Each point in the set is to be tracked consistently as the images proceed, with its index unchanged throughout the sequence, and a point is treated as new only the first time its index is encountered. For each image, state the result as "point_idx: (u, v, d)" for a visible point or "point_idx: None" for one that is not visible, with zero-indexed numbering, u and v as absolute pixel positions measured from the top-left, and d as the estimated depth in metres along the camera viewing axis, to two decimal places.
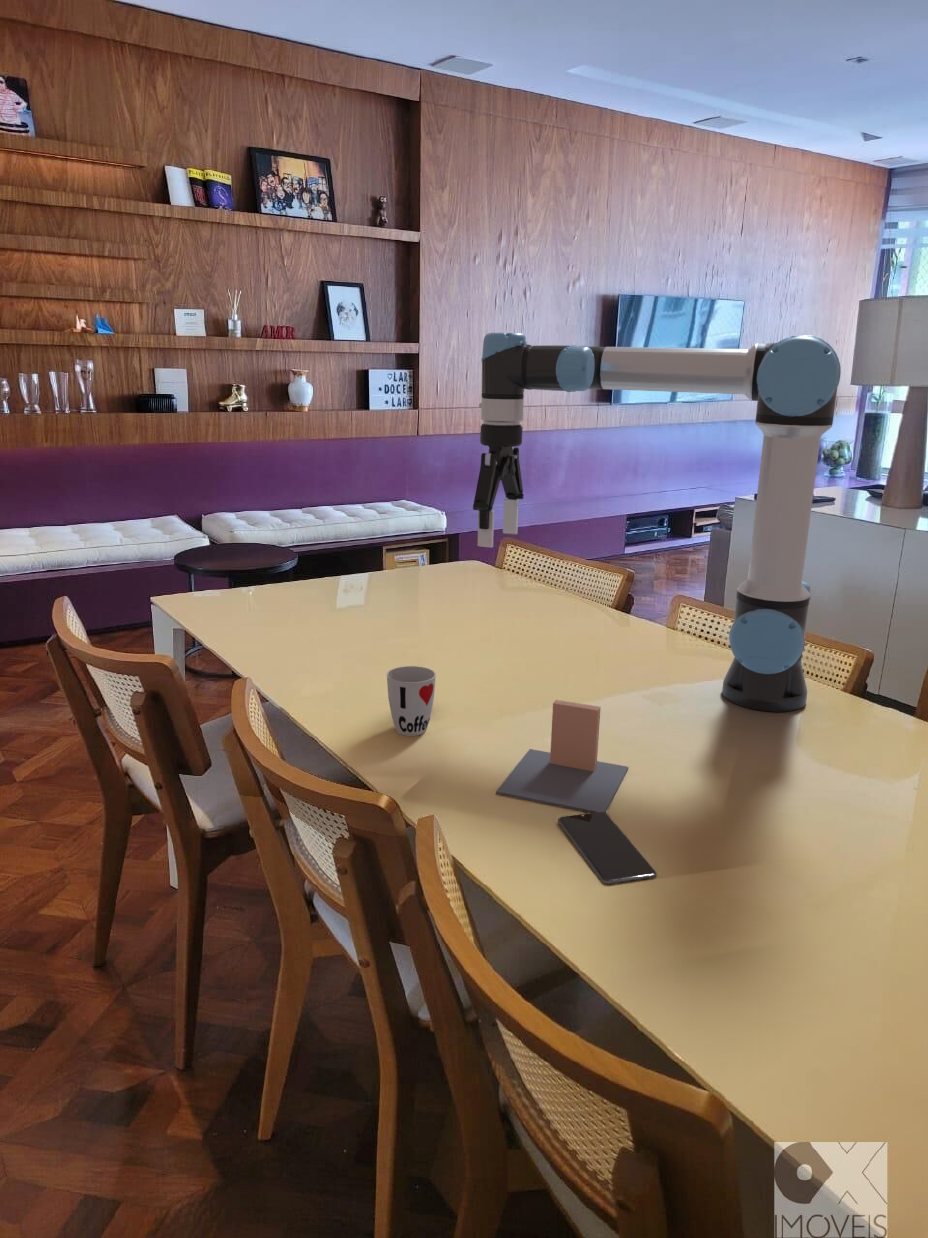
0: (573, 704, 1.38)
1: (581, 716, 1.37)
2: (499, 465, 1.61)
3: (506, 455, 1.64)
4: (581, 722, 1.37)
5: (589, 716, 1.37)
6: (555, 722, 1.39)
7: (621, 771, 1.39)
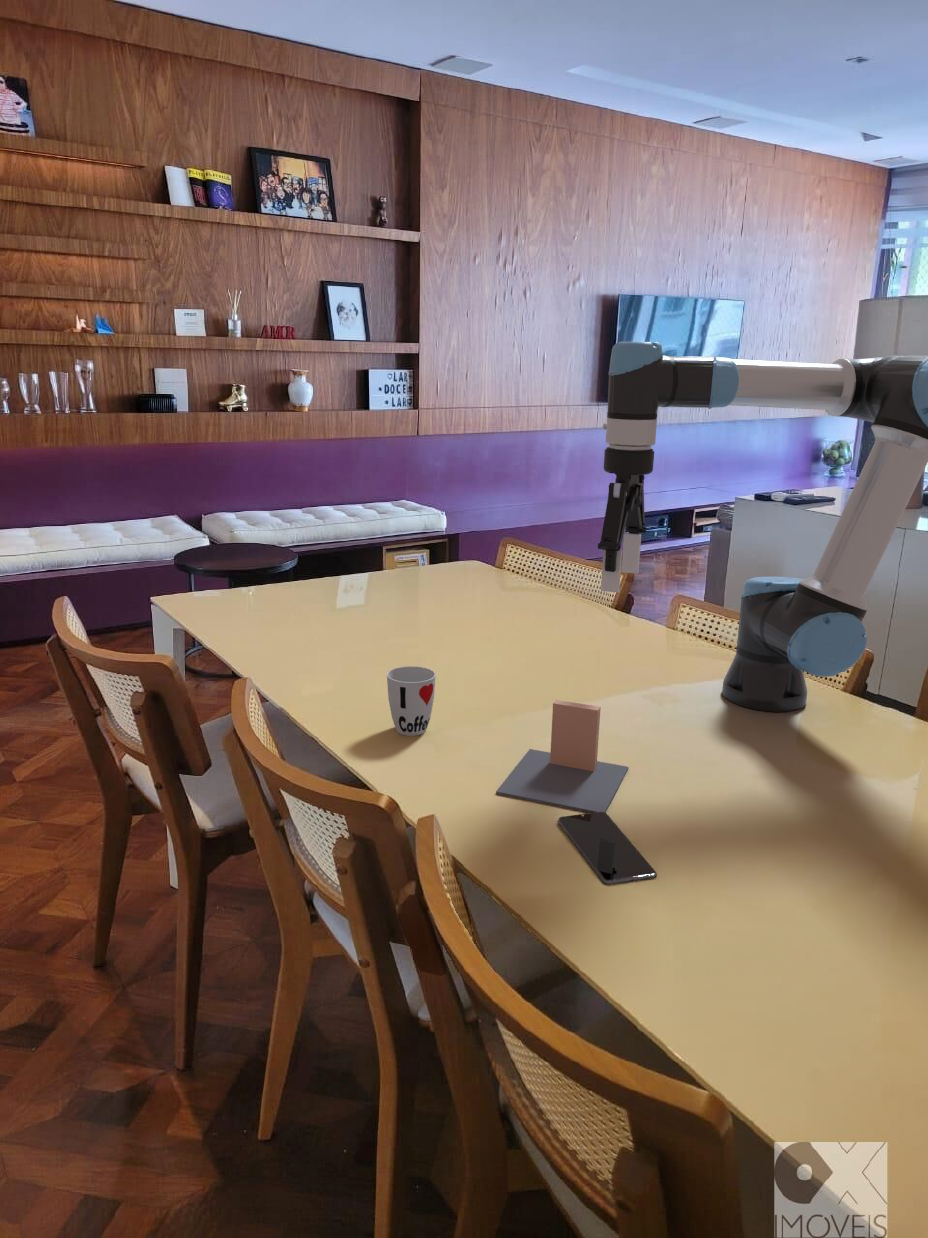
0: (573, 704, 1.38)
1: (581, 716, 1.37)
2: (628, 496, 1.38)
3: (634, 484, 1.40)
4: (581, 722, 1.37)
5: (589, 716, 1.37)
6: (555, 722, 1.39)
7: (621, 771, 1.39)
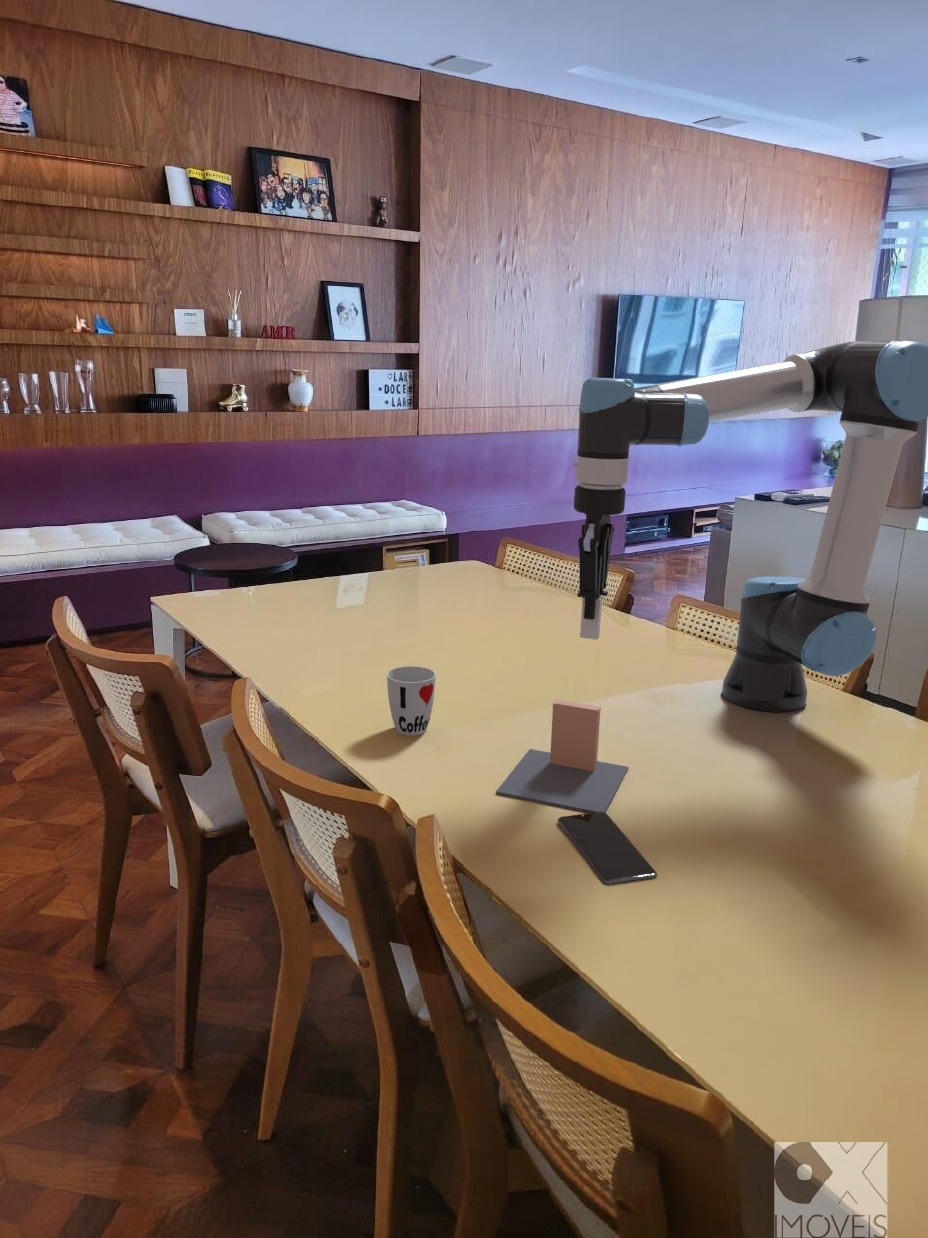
0: (573, 704, 1.38)
1: (581, 716, 1.37)
2: (598, 536, 1.34)
3: (605, 524, 1.36)
4: (581, 722, 1.37)
5: (589, 716, 1.37)
6: (555, 722, 1.39)
7: (621, 771, 1.39)
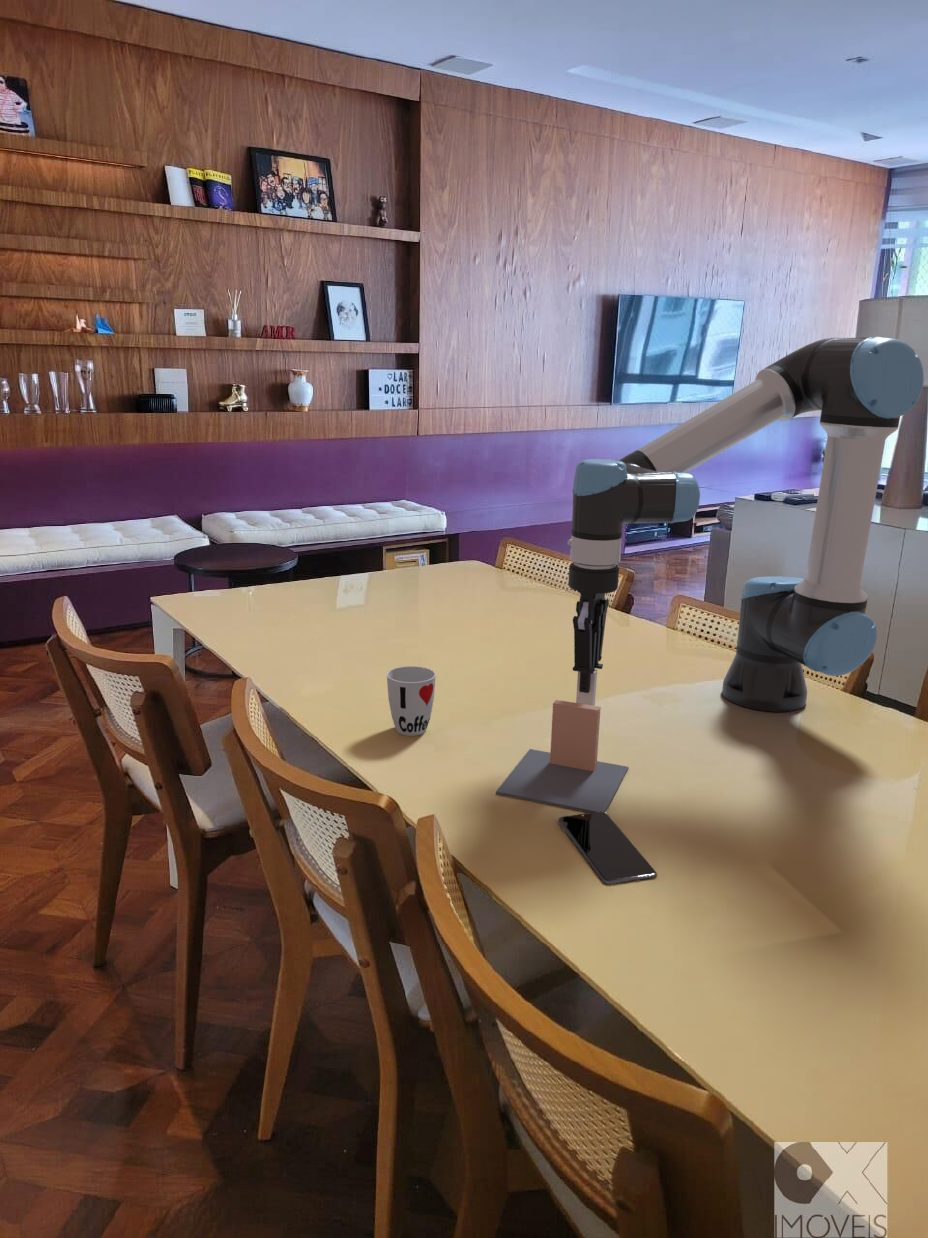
0: (573, 704, 1.38)
1: (581, 716, 1.37)
2: (592, 614, 1.36)
3: (599, 600, 1.39)
4: (581, 722, 1.37)
5: (589, 716, 1.37)
6: (555, 722, 1.39)
7: (621, 771, 1.39)
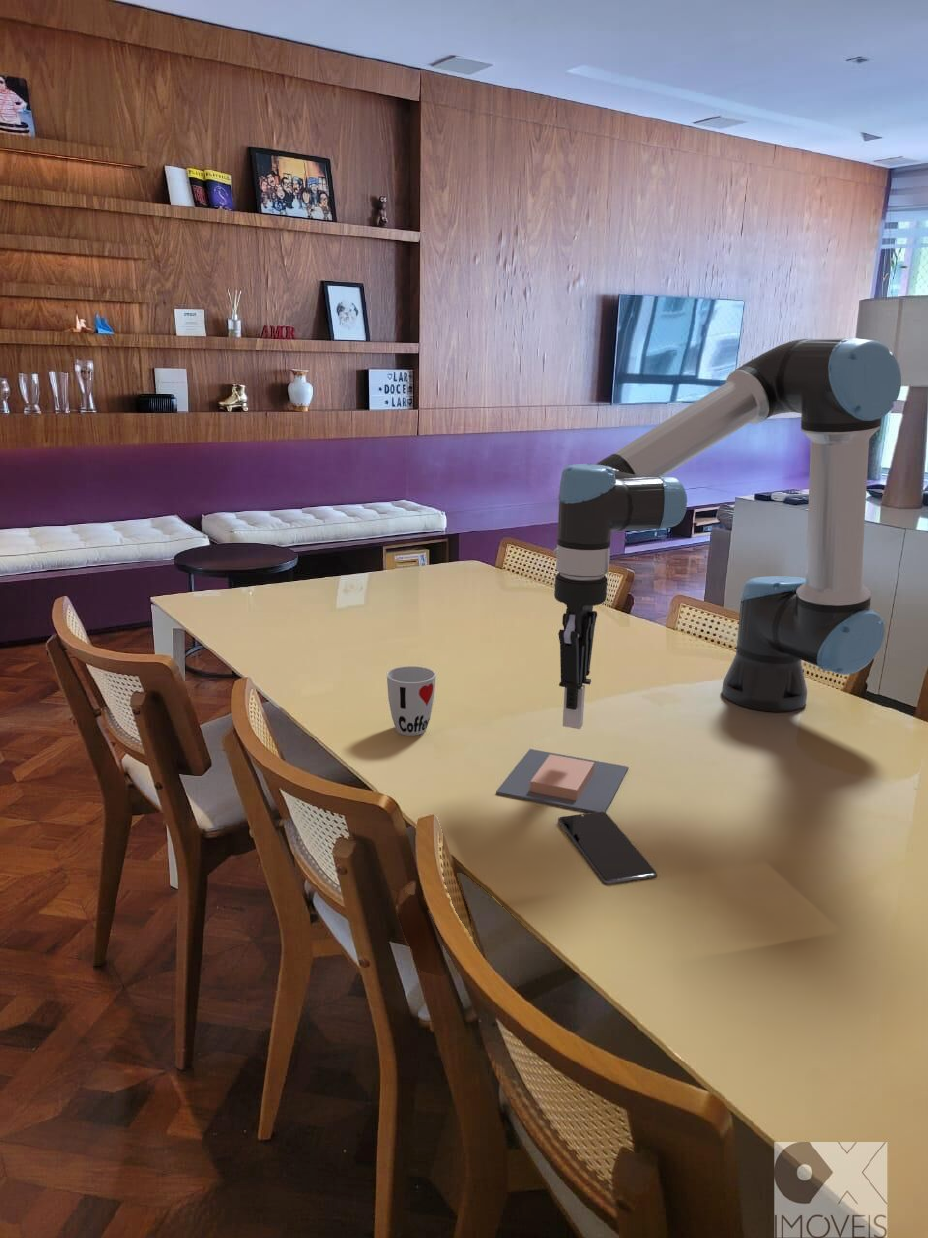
0: (549, 789, 1.31)
1: None
2: (579, 627, 1.29)
3: (586, 613, 1.32)
4: None
5: None
6: None
7: (621, 771, 1.39)
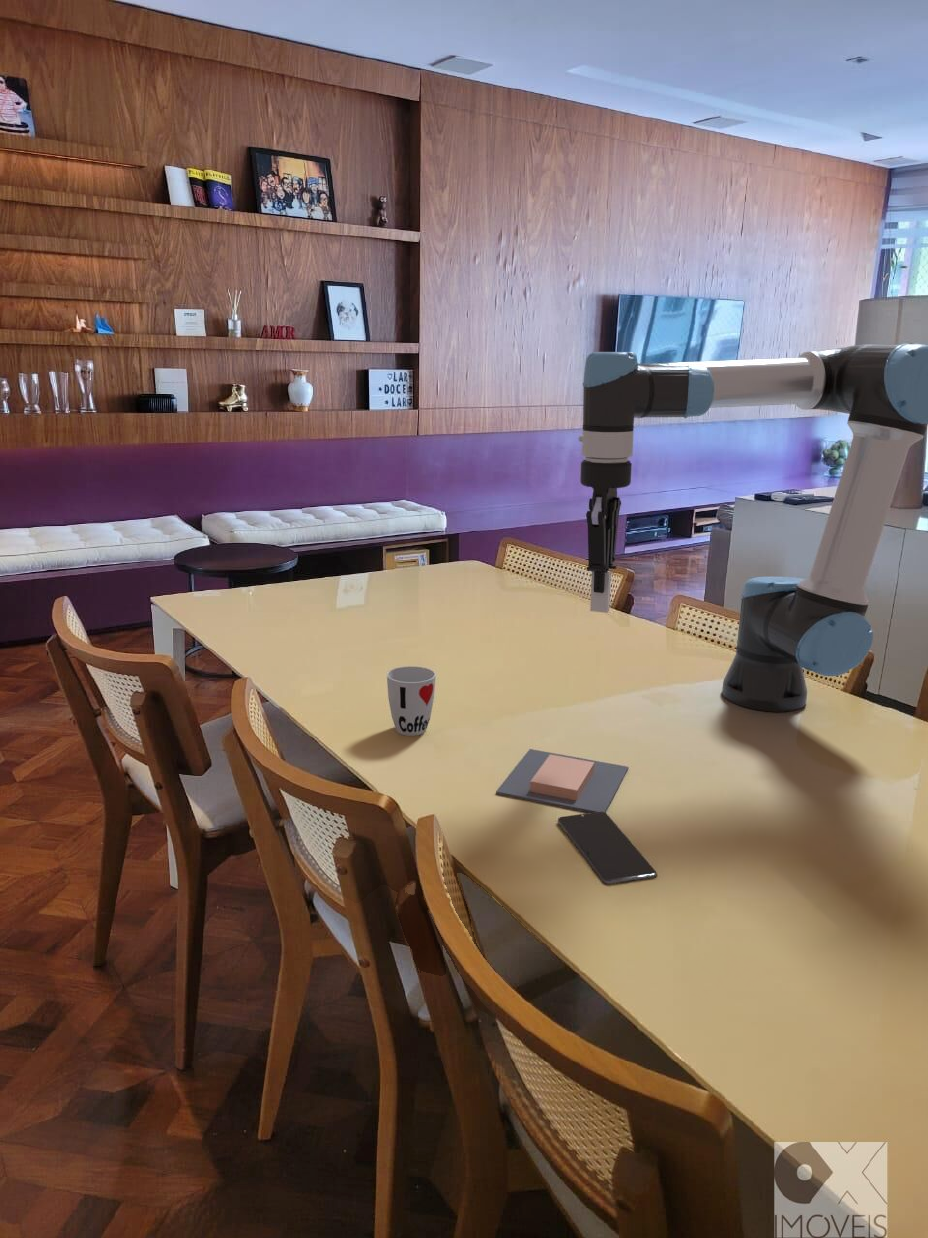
0: (549, 789, 1.31)
1: None
2: (605, 510, 1.35)
3: (612, 497, 1.37)
4: None
5: None
6: None
7: (621, 771, 1.39)
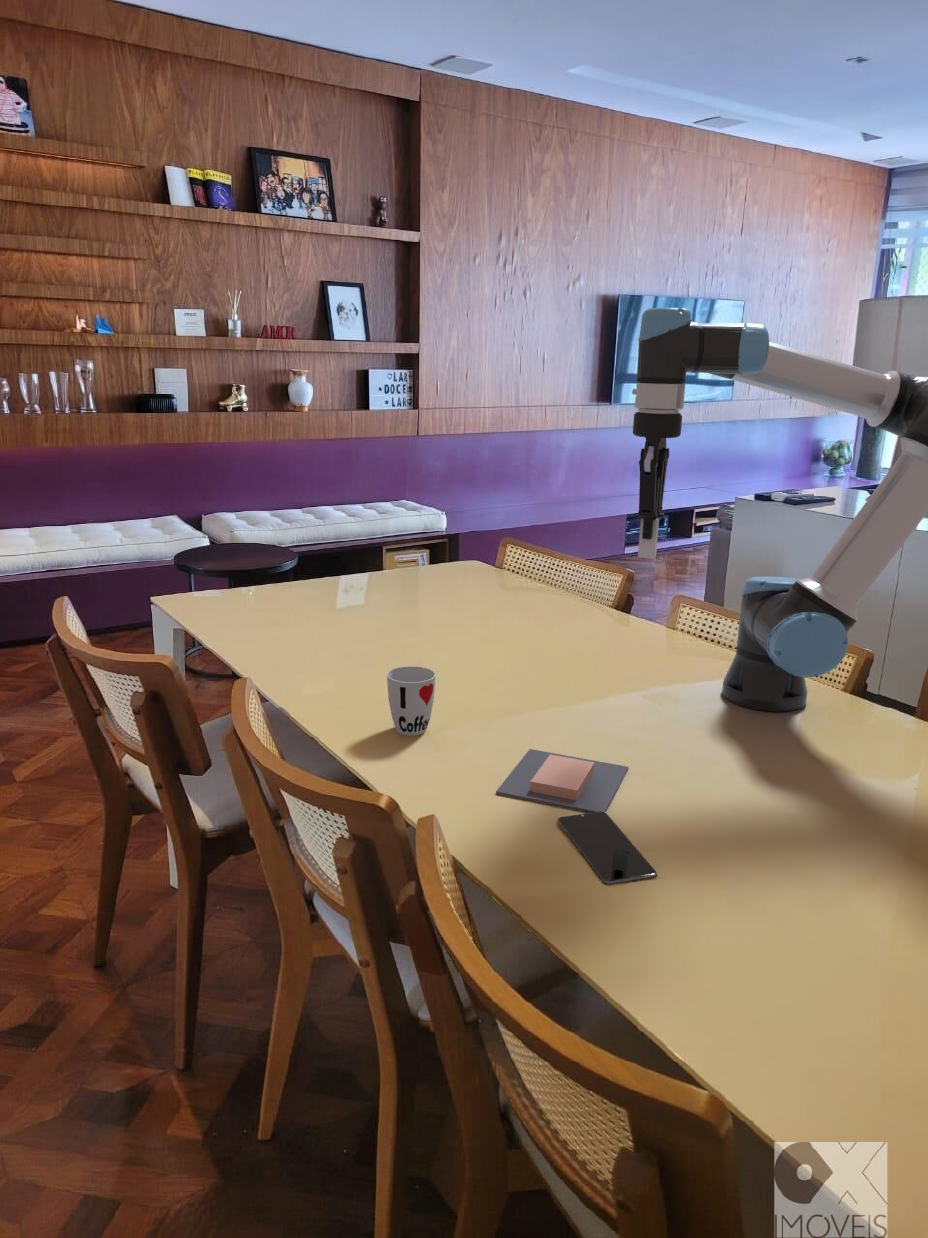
0: (549, 789, 1.31)
1: None
2: (657, 458, 1.42)
3: (662, 448, 1.45)
4: None
5: None
6: None
7: (621, 771, 1.39)
